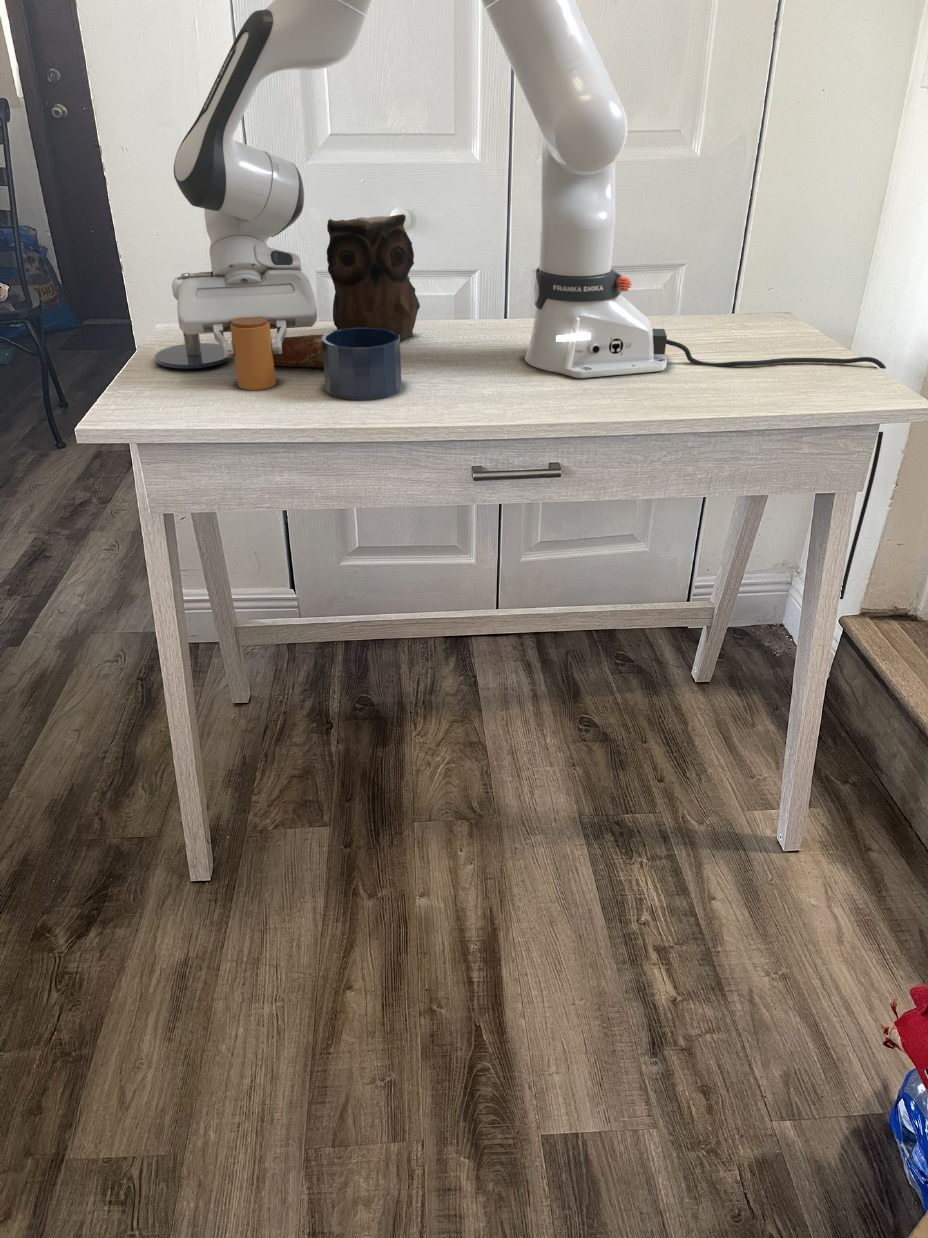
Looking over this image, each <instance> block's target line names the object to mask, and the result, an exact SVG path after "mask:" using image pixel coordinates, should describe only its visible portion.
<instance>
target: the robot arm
mask: <svg viewBox="0 0 928 1238" xmlns="http://www.w3.org/2000/svg"><path fill="white" fill-rule="evenodd" d="M480 1H481V3H482V5H483V7H484V9H485V12H486V15H487V17H488V19H489V21H490V23H491V25H492V28H493V29H494V32H495V34H496V36H497V38H498V40H499V43H500V45H501V47H502V49H503V51H504V53H505V56H506V58H507V60H508V62H509V65H510V67H511V69H512V72H513V73H514V75H515V77H516V79H517V82H518V84H519V86H520V88H521V90H522V92H523V95H524V97H525V99H526V102H527V103H528V105H529V108H530V110H531V112H532V114H533V116H534V118H535V120H536V124H537V125H538V127H539V130H540V131H541V134H542V141H541V142H542V144H541V192H540V193H541V194H540V195H541V196H540V197H541V201H540V202H541V203H540V205H541V208H540V209H541V212H540V233H539V234H540V236H539V259H538V267H536V270H535V277H534V289H533V290H534V291H533V292H534V293H533V303H534V306H535V314H534V320H533V326H532V331H531V336H530V340H529V344H528V347H527V351H526V354H525V356H524V360H525V362H526V363H527V364H528V365H530V366H532V367H534V368H536V369H540V370H543V371H547V372H552V373H557V374H563V375H566V376H568V377H571V378H575V379H584V378H585V379H586V378H598V377H608V376H619V375H630V374H641V373H654V372H662V371H664V370H666V368H667V365H668V364H667V362H668V360H667V356H666V347H667V345H668V346H672V347H675V348H678V349H680V350H682V351H683V352H684V354H685V357H686V359H687V360H688V362H690V363H692V364H693V365H696V366H706V367H717V368H729V367H731V368H732V367H751V366H752V367H754V366H766V365H774V364H786V363H787V364H788V363H790V364H791V363H819V364H820V363H821V364H855V363H864V362H865V363H872V364H874V365H876V366H877V367H878V368H880V369H883V370H885V369H887V366H886V365H885V364H884V363H883V361H881V360H880V359H877V358H875V357H872V356H859V357H853V358H851V357H850V358H833V357H782V358H772V359H771V358H770V359H762V360H761V359H760V360H736V361H725V362H705V361H701V360H699V359H696V358H694V357H693V356H692V353H691V351H690V349H689V347H687V346H686V345H685V344H683V343H680V342H678V341H674V340H672V339H667V338H668V336H667V333H666V330H665V328H653V327H652V324H651V322H650V321H649V319H648V317H646V316H645V315H644V314H643V313H642V312H641V311H640V310H639V309H638V308H636V307H635V306H634V305H633V304H632V303H631V302H630V301H629V300H628V299H626V298H625V297H624V296H623V295H622V294H621V293H622V292H625V293H626V292H628V291H630V289H631V287H632V284H633V283H632V281H631V279H630V278H629V277H628V276H627V275H622V274H621V273H619V272H617V271H616V270H615V269H613V268H612V263H613V251H614V250H613V249H614V237H615V228H616V227H615V226H616V162H617V161H616V160H617V159H618V158H619V156H620V155H621V154H622V152H623V149H624V147H625V145H626V143H627V142H626V141H627V137H628V129H629V128H628V117H627V113H626V110H625V108H624V106H623V104H622V101H621V98H620V97H619V95H618V92H617V91H616V87H615V85H614V83H613V82H612V79H611V76H610V75H609V72H608V70H607V68H606V65H605V64H604V61H603V60H602V57H601V55H600V53H599V51H598V48H597V47H596V44H595V42H594V39H593V38H592V36H591V34H590V32H589V29H588V27H587V25H586V23H585V20H584V19H583V16H582V14H581V11H580V9H579V6H578V4H577V2H576V0H480ZM371 3H372V0H273V1H272V2H271V3H270V4H269V5H268V6H267V7H266V8H264V9H259V10H255V11H253V12H252V13H251V14H250V15H249V16H248V18H247V19H246V20H245V22H244V23H243V25H242V26H241V28H240V30H239V32H238V34H237V36H236V37H235V39H234V41H233V43H232V45H231V47H230V49H229V51H228V53H227V55H226V57H225V59H224V61H223V64H222V65H221V67H220V69H219V72H218V73H217V76H216V78H215V80H214V82H213V84H212V87H211V88H210V91H209V93H208V95H207V97H206V99H205V101H204V102H203V105H202V106H201V107H202V108H201V109H200V111H199V114H198V115H197V117H196V119H195V121H194V122H193V124H192V125H191V127H190V129H189V130H188V131H187V133H186V134H185V136H184V138H183V139H182V141H181V143H180V145H179V146H178V149H177V151H176V154H175V158H174V161H173V178H174V180H175V182H176V185H177V187H178V188H179V190H180V192H181V194H182V195H183V196H184V198H185V199H186V200H187V202H188V203H189V204H190V205H191V206H192V207H196V208H200V209H204V210H203V211H204V221H205V229H206V233H207V235H208V237H209V239H210V245H209V260H210V266H211V271H198V272H194V273H193V272H192V273H191V272H183V273H181V274H180V275H178V276H177V277H175V278H174V279H173V280H172V282H171V284H172V285H171V289H172V296H173V298H175V300H176V301H177V302H176V303H177V308H176V309H177V321H178V325H179V329H180V331H181V332H182V333H183V332H184V333H185V334H188V335H189V334H199V335H204V334H213V336H214V338H213V339H214V340H215V341H216V342H217V344H220V345H221V347H222V348H224V356H225V357H232V358H234V348H233V342H232V340H227V339H226V338H225V335H224V333H231V327H230V325H231V323H232V320H233V319H235V318H247V317H265V318H266V319H267V321H268V322H269V323H270V330H276V334H277V336H276V337H271V338H272V339H271V343H272V352H273V354H282V342H283V340H284V338H285V337H287V329H298V328H312V327H313V326H315V324H316V322H317V319H318V308H317V302H316V298H315V294H314V291H313V287H312V285H311V282H310V279H309V278H308V276H307V275H306V274H305V272H303V268H302V261H301V258H300V256H299V255H298V254H297V253H294V252H290V251H284V250H280V249H276V248H274V247H273V248H272V247H270V246H268V240H269V239H270V238H275V237H276V236H278V235H279V234H281V233H282V232H283V231H285V230H286V229H288V228H289V227H290V226H291V225H293V224H294V223H295V222H297V220H298V219H299V218H300V216H301V214H302V213H303V210H304V205H305V188H304V182H303V179H302V176H301V173H300V171H299V169H298V167H297V166H296V165H295V163H294V162H291V161H289V160H287V159H285V158H282V157H280V156H278V155H275V154H272V153H270V152H267V151H265V150H261V149H258V148H256V147H253V146H250V145H248V144H246V143H243V142H240V141H238V140H236V139H234V136H235V132H236V130H237V129H238V126H239V125H240V122H241V121H242V119H243V118H244V117H243V116H244V114H245V113H246V110H247V108H248V107H249V104H250V102H251V101H252V98H253V96H254V94H255V92H256V90H257V88H258V87H259V85H260V84H261V83H262V82H263V80H265V79H266V78H267V77H269V76H270V75H272V74H274V73H278V72H282V71H294V70H299V71H303V70H304V71H309V70H310V71H315V70H323V69H328V68H330V67H333V66H335V65H337V64H339V63H340V62H342V61H344V60H345V59H346V58H348V57H349V56H350V55H351V53H352V51H353V50H354V49H355V47H356V44H357V42H358V40H359V37H360V35H361V32H362V30H363V26H364V24H365V20H366V18H367V15H368V12H369V10H370V6H371ZM883 437H884V431H878V433H877V440H876V445H875V451H874V454H873V455H874V456H873V460H872V466H871V470H870V474H869V477H868V483H867V486H866V490H865V495H864V499H863V502H862V506H861V510H860V513H859V517H858V521H857V525H856V528H855V532H854V535H853V540H852V544H851V548H850V551H849V555H848V559H847V562H846V567H845V572H844V575H843V578H842V583H843V585H842V584H841V587H842V590H841V589H840V592H841V597H840V599H839V600H844V597H845V593H846V589H847V584H848V580H849V576H850V572H851V567H852V564H853V561H854V560H853V559H854V556H855V552H856V549H857V545H858V542H859V541H858V540H859V537H860V533H861V529H862V526H863V523H864V518H865V514H866V511H867V507H868V504H869V500H870V496H871V492H872V488H873V485H874V480H875V477H876V476H875V475H876V471H877V467H878V463H879V458H880V453H881V448H882V443H883Z"/></svg>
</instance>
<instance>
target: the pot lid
mask: <svg viewBox="0 0 928 1238" xmlns="http://www.w3.org/2000/svg"><path fill="white" fill-rule="evenodd" d="M182 334H183V340H184V344H183V343H182V344H177V345H173V346H169V347H165V348H163V349H161V350H159V351H157V352H156V353H155V354H154V361H155V363H156V364H158V365H160V366H163V367H167V368H172V369H182V370H195V369H206V368H210V367H214V366H217V365H220V364H224V363H226V362H228V361H230V360H231V359H232V358H233V357H225V356H224V348H222V347H221V345H220V344H219V343H212V342H201V338H200V337H201V336H200V334H189V335H188V334H185V333H184V332H183V331H182Z"/></svg>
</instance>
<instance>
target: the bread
mask: <svg viewBox="0 0 928 1238" xmlns="http://www.w3.org/2000/svg"><path fill="white" fill-rule="evenodd" d="M325 334H326V333H325ZM325 334H324V333H323V334H309V335H308V334H307V335H294V336H285V338H284V340H283V342H282V354H273V361H274V366H279V367H294V368H298V367H303V368H320V369H324V363H323V350H322V336H324V335H325ZM272 338H273V337H271V339H272Z"/></svg>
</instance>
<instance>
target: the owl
mask: <svg viewBox="0 0 928 1238" xmlns="http://www.w3.org/2000/svg"><path fill="white" fill-rule="evenodd" d="M406 218H407V216H406V215H405V213H402V214H401V213H400V214H395V215H394V214H393V215H389V216H388V215H387V216H385V215H384V216H383V215H382V216H381V215H380V216H379V215H378V216H370V217H363V216H362V217H357V218H353V219H352V218H351V219H347V220H346V219H340V220H339V219H338V220H334V219H332V218H329V219H327V224H326V228H327V229H326V231H327V232H328V236H329V243H328V246H327V248H326V261H327V265H328V266H327V272H328V274H329V275H330V279H331V280H332V283H333V287H334V297H333V303H332V322H333V325H334V326H335V328H336V330H339V329H345V328H353V327H373V328H383V329H388V330H392V331H394V332H396V333H398V334H399V335H400V342H403V341H405V340H407V339H411V338H413V337H414V328H415V324H416V321H417V316H418V312H419V309H420V308H421V304H420V302H419V298H418V296H417V293H416V287H414V285H413V284H412V282H411V280H410V279H411V278H410V276H409V273H410V271H411V269H412V268H413V266H414V265H415V261H414V259H415V253H414V248H413V242H412V241H411V238H410V237H409V235H408V233H407V231H406V228H405V227H404V226H405V222H406V220H407V219H406Z"/></svg>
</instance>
